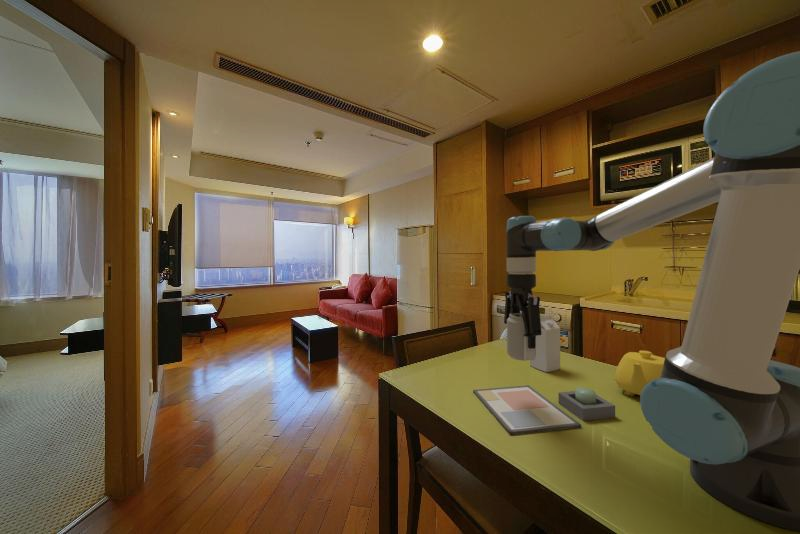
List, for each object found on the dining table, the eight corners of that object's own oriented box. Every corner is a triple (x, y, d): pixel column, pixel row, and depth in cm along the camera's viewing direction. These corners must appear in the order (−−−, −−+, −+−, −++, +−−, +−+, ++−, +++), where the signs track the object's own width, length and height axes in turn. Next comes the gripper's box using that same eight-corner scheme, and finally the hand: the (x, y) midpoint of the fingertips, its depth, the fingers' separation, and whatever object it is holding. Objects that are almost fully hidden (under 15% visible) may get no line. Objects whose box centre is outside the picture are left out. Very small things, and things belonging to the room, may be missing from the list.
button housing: (615, 417, 74) (615, 405, 74) (582, 420, 73) (582, 408, 73) (587, 400, 83) (587, 389, 83) (558, 403, 82) (558, 392, 82)
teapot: (682, 394, 86) (683, 350, 86) (668, 418, 74) (669, 367, 73) (625, 379, 97) (625, 340, 96) (604, 398, 84) (604, 354, 84)
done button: (600, 407, 76) (600, 394, 76) (584, 409, 76) (584, 396, 75) (586, 399, 81) (586, 386, 81) (571, 400, 80) (571, 388, 80)
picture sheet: (581, 427, 70) (581, 424, 70) (510, 435, 68) (510, 432, 68) (528, 387, 92) (528, 385, 92) (473, 392, 90) (473, 389, 90)
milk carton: (529, 366, 110) (529, 315, 109) (543, 363, 113) (543, 313, 112) (546, 372, 103) (546, 318, 103) (560, 369, 106) (560, 316, 106)
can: (530, 352, 86) (530, 311, 86) (540, 361, 79) (540, 317, 78) (504, 352, 87) (503, 311, 87) (511, 361, 79) (510, 317, 79)
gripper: (557, 274, 72) (557, 367, 73) (514, 271, 93) (514, 343, 93) (529, 275, 71) (529, 369, 72) (491, 271, 92) (492, 344, 92)
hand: (521, 354), depth 83 cm, fingers closed on can, 7 cm apart
